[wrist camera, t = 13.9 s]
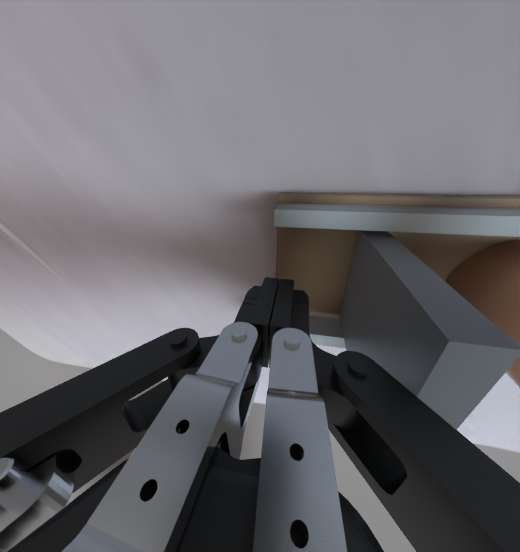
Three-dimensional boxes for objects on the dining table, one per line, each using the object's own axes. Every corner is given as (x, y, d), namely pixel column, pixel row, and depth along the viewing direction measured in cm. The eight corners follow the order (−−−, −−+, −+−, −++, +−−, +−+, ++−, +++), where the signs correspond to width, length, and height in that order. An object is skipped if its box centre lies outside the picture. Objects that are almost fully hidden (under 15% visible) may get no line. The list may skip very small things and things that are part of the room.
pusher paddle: (384, 228, 11) (523, 350, 4) (358, 319, 14) (412, 481, 7) (359, 227, 11) (449, 341, 4) (339, 316, 14) (372, 472, 7)
